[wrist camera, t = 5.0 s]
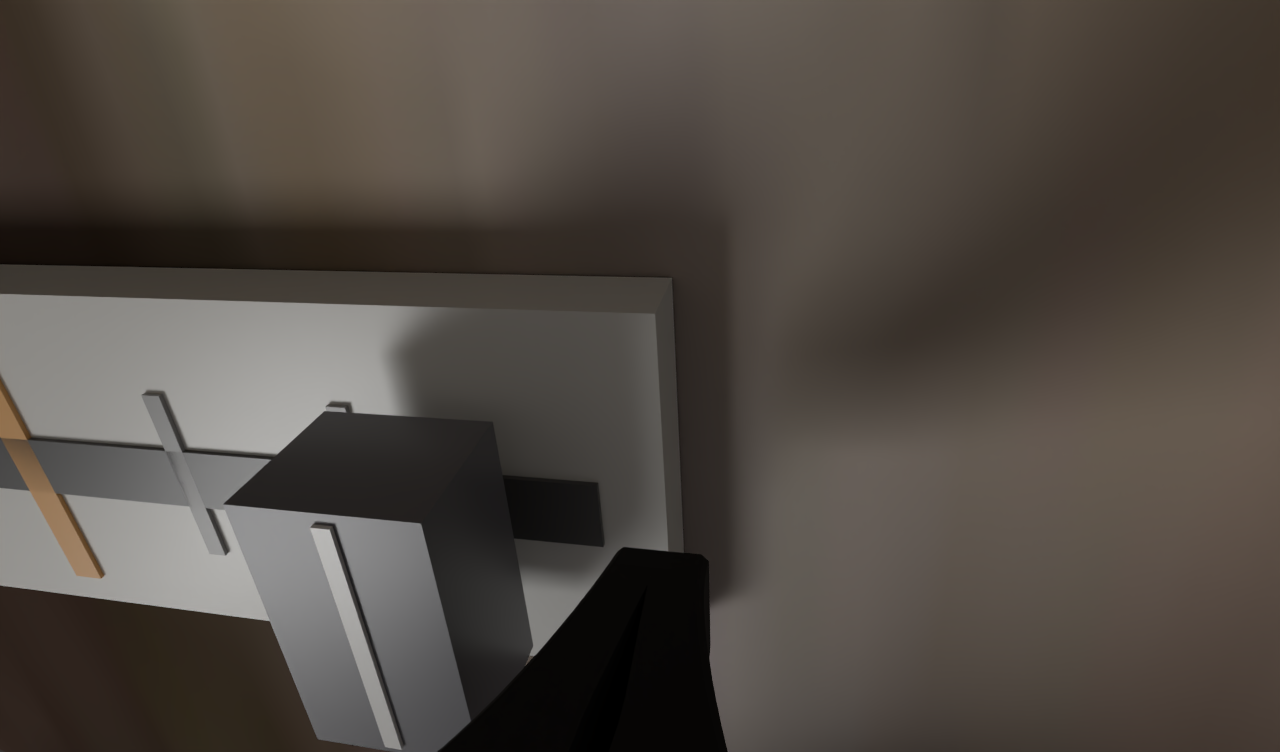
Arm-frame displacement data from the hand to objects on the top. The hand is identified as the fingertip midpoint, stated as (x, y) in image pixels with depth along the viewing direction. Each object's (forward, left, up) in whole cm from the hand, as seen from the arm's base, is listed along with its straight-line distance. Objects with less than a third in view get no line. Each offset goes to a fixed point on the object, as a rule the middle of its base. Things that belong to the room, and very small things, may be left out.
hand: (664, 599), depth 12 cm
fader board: (+9, +5, -3) cm, 11 cm away
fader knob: (+4, +2, -2) cm, 5 cm away
